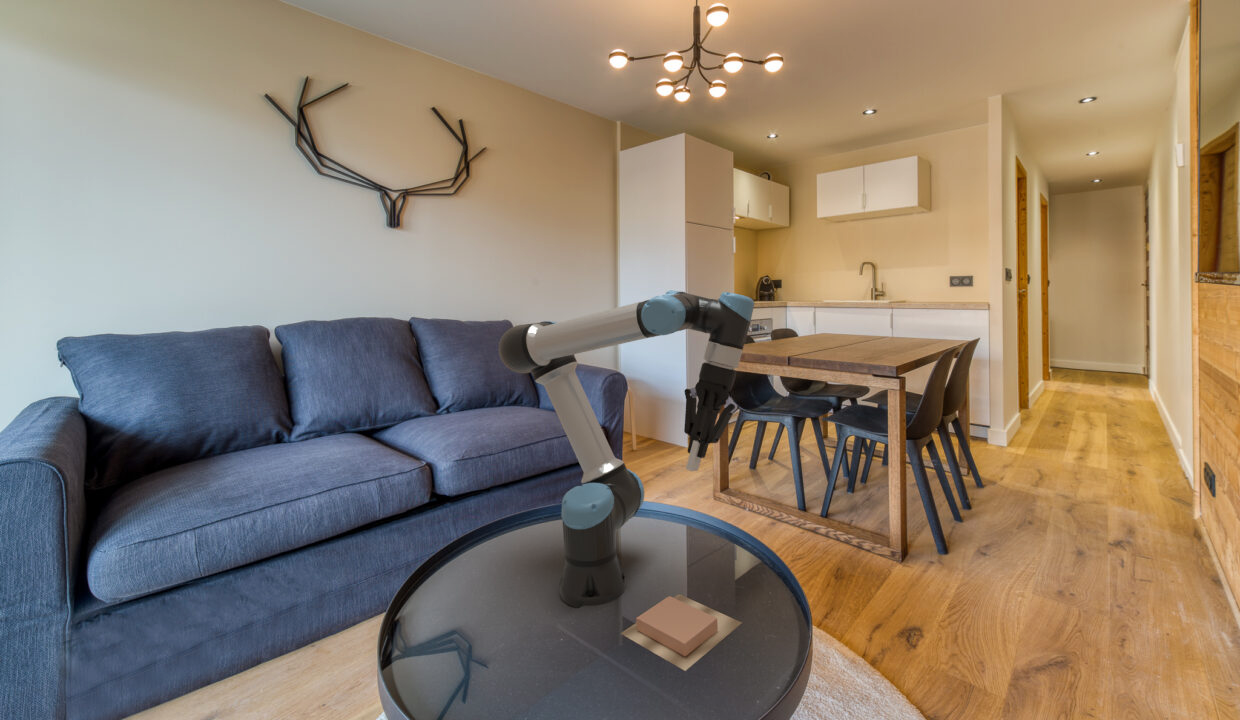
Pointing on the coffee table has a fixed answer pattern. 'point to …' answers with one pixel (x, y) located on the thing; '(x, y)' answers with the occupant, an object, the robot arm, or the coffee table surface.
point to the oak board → (684, 663)
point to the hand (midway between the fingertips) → (691, 469)
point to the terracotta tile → (677, 625)
